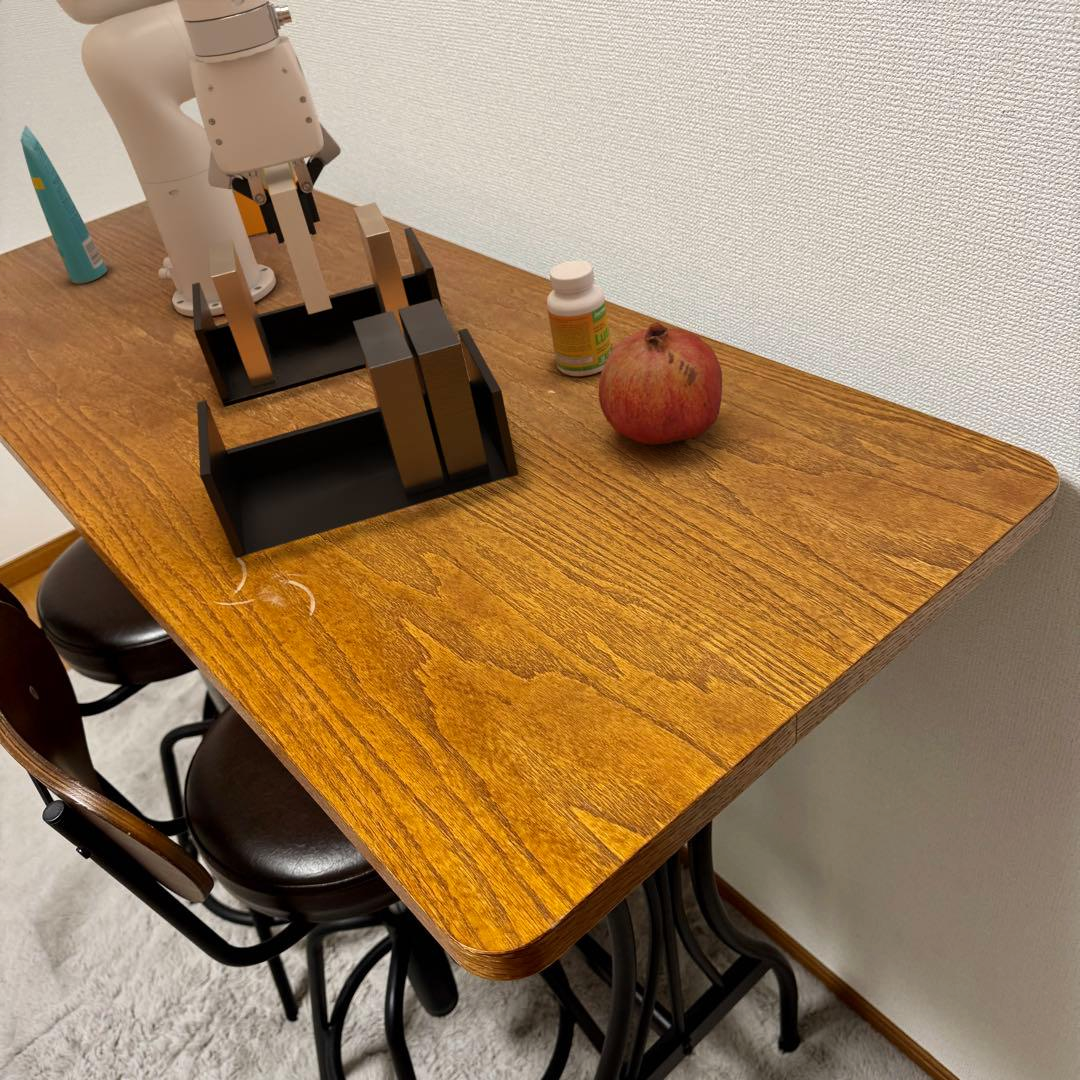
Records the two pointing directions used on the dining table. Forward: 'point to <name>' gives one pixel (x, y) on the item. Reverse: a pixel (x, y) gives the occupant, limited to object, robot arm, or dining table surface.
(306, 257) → the long flat cream plank
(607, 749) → the dining table surface
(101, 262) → the tube
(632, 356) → the fruit
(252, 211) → the orange juice
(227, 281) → the brown and black frame
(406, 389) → the black rack
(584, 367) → the supplement bottle
